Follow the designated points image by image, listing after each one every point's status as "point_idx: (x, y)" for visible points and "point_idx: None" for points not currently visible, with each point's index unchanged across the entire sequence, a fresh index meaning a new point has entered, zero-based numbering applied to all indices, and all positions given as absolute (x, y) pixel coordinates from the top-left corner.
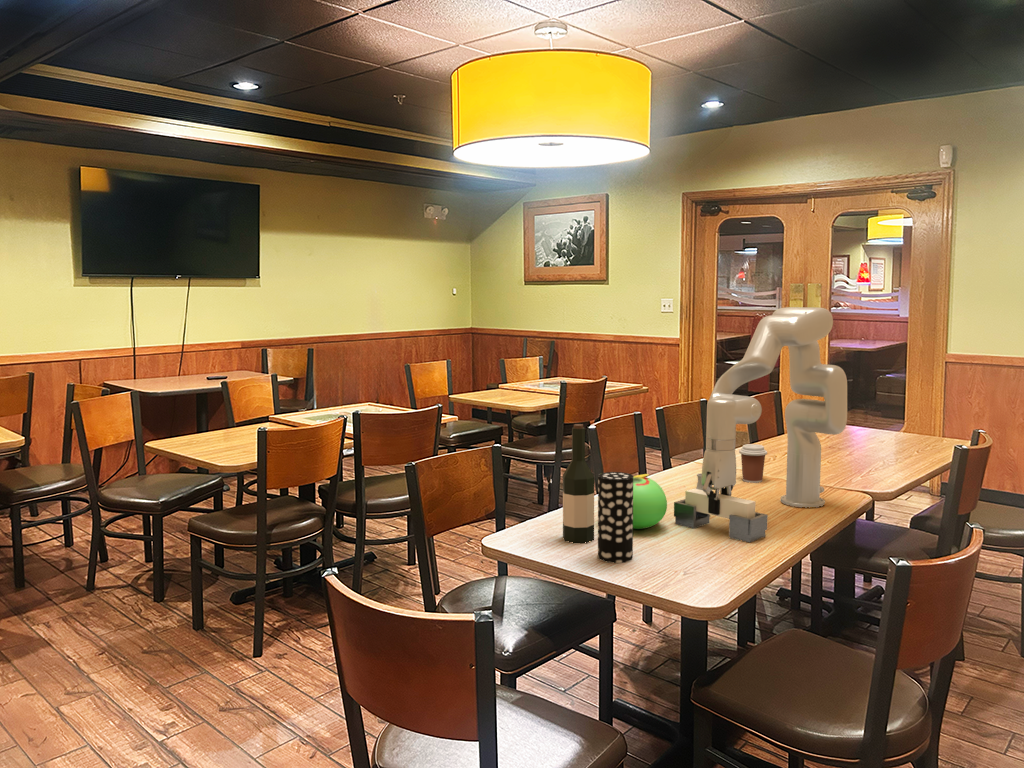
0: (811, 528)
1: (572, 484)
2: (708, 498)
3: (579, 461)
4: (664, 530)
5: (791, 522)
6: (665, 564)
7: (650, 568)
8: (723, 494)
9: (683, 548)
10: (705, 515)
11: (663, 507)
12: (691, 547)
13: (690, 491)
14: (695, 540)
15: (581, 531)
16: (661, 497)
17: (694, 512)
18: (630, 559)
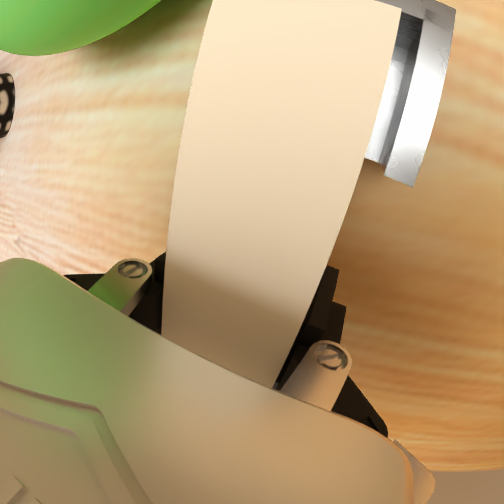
0: (422, 455)
1: None
2: (135, 264)
3: None
4: (167, 39)
5: (475, 422)
6: (16, 198)
7: (2, 185)
8: (287, 368)
9: (69, 189)
10: (383, 148)
11: (47, 52)
12: (83, 204)
13: (223, 27)
14: (129, 191)
15: None
16: (9, 40)
17: None
18: (1, 137)
